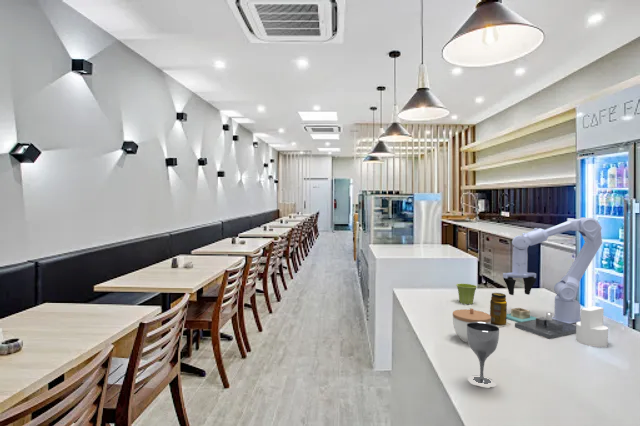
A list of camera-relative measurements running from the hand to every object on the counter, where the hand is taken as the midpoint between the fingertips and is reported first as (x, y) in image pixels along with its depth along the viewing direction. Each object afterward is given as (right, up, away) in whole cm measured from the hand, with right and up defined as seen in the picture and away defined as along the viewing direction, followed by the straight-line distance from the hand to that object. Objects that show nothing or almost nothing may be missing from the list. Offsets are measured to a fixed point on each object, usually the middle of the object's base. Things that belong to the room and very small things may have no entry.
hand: (519, 294), depth 161 cm
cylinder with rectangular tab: (+9, -10, -31) cm, 34 cm away
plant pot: (-15, -9, +21) cm, 27 cm away
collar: (-2, -9, -4) cm, 10 cm away
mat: (-2, -10, -4) cm, 10 cm away
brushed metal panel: (+2, -10, -17) cm, 20 cm away
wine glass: (-43, -10, -61) cm, 76 cm away
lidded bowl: (-33, -10, -30) cm, 45 cm away
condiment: (-15, -10, -11) cm, 21 cm away
